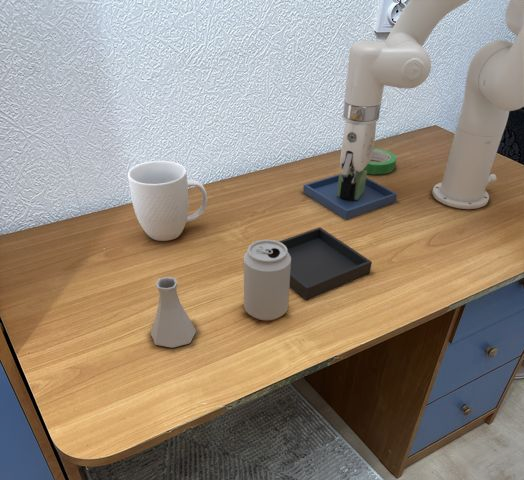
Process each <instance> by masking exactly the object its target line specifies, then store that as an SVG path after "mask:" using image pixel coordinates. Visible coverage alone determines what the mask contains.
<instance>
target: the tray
mask: <svg viewBox="0 0 524 480" xmlns="http://www.w3.org/2000/svg"><path fill="white" fill-rule="evenodd" d="M339 174H340V173H339ZM339 174H334V175H332V176H328V177H326V178H322V179H318V180H315V181H312V182H307V183H305V184H303V188H302V189H303V190H302V193H303V194H304V195H306V196H307V197H308V198H311V199H313V201H315V202H317V203H319V204H320V205H322V206H323V207H325V208H326V209H328V210H330V211H331V212H333V213H334V214H336V215H338V216H339V217H341V218H343V219H344V220H348V219H352V218H354V217H357V216H360V215H362V214H365V213H368V212H372V211H375V210H377V209H380V208H382V207H386V206H388V205H392V204H394V203H396V202H397V198H398V193H397V192H395V191H393V190H391V189H390V188H387V187H385V186H384V185H382V184H380V183H378V182H377V181H374V180H372V179H371V178H368V177H367V176H366V182H365V189H364V192H363V194H362V195H361V196H360V198H359V199H358V200H354V199H353V200H347V199H342V198H340V196H337V189H338V180H339Z"/></svg>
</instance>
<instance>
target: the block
mask: <svg viewBox="0 0 524 480" xmlns="http://www.w3.org/2000/svg"><path fill="white" fill-rule="evenodd" d="M350 168H352V166H351V167H350ZM353 169H354V168H353ZM349 173H350V174H351V176H352V175H353V172H350V171H349ZM341 174H342V171H341V172H340V173H339V180H338V189H337V196H340V191H341V181H342V176H341ZM367 175H368V174H367V171H366V170H362V171H361V172H358V171H357V173H356V178H355V183H356V187H355V195H354V200H358V199H359V198H360V196H361V195H362V194H363V192H364V189H365V182H366V177H367Z"/></svg>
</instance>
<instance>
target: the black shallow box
mask: <svg viewBox="0 0 524 480" xmlns="http://www.w3.org/2000/svg"><path fill="white" fill-rule="evenodd" d="M278 242H281V243H282V244H284V245H285V246H286V247H287V249H288V253H289V254H290V256H291V269H290V284H289V288H291V289H292V290H293V291H294V292H296V293H297V294H298V295H299V296H300V297H302V298H303V299H304V300H305V301H308V300H309V299H312V298H315V297H316V296H319V295H321V294H324V293H325V292H329V291H331V290H333V289H335V288H338V287H340V286H342V285H345V284H347V283H349V282H351V281H354V280H356V279H359V278H361V277H364V276H366V275H369V274H371V268H372V263H373V261H371V260H370V259H369V258H367V257H366V256H364V255H362V254H361V253H359V252H358V251H356V250H355V249H353V248H352V247H351V246H349V245H348V244H346V243H344V242H343V241H342V240H340V239H338V238H337V237H335V236H334V235H332V234H331V233H330V232H328V231H327V230H325V229H323V228H322V227H320V226H319V227H316V228H312V229H311V230H308V231H305V232H302V233H299V234H295V235H293V236H290V237H288V238H285V239H282V240H280V241H278Z"/></svg>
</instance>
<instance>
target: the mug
mask: <svg viewBox="0 0 524 480" xmlns="http://www.w3.org/2000/svg"><path fill="white" fill-rule="evenodd" d="M187 175H188V174H187V169H186V167H185V166H183V165H182V164H181V163H178V162H176V161H170V160H151V161H145V162H142V163H138V164H136V165H134V166H132V167H131V168H130V169H129V170H128V172H127V178H128V179H127V180H128V187H129V191H130V197H131V202H132V207H133V211H134V213H135V216H136V218H137V221H138V223H139V225H140V227H141V228H142V230H143V231H144V232H145V234H146V235H147V236H148V237H149V238H150V239H152V240H155V241H158V242H168V241H173V240H175V239H177V238H178V237H180V236H181V235H182V233H183V231H184V230H185V228H186V227H185V226H186V224H187V223H189V222H191V221H194V220H196V219H198V218H200V217H201V216H202V215H203V214H204V213H205V211H206V209H207V207H208V201H209V200H208V199H209V198H208V192H207V191H206V188H205V187H204V185H203V184H202V183H201V182H200V181H198V180H195V179H191V178H190V179H188V176H187ZM191 187H197V188H198V189H199V190H200V193H201V194H202V202H201V205H200V207H199V208H198V210H196V211H195V212H193V213H192V214H189V203H190V202H189V200H190V198H189V188H191Z"/></svg>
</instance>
